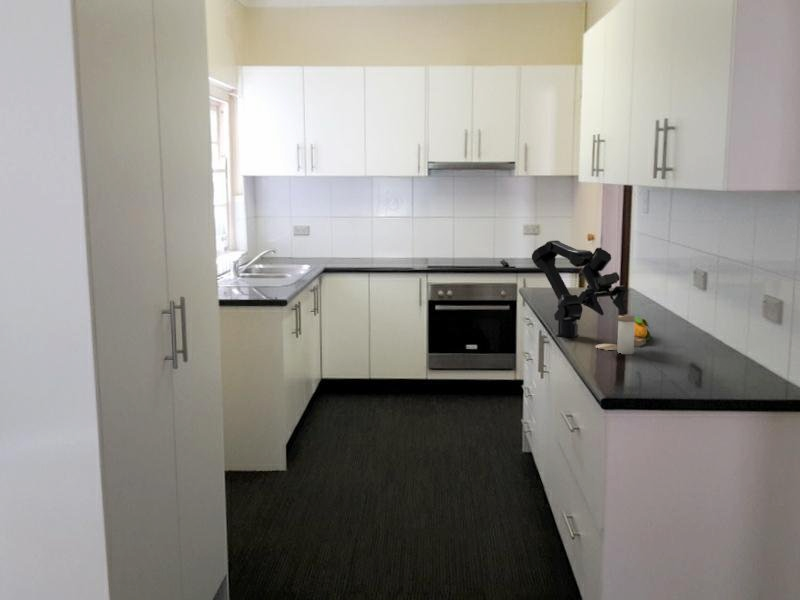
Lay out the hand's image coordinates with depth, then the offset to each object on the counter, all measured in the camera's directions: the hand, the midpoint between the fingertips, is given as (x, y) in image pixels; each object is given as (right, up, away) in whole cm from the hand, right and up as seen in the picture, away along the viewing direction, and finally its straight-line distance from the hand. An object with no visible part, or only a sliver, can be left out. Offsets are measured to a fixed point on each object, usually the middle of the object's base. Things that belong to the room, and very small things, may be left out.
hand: (613, 313), depth 293 cm
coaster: (-1, -12, +4) cm, 13 cm away
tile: (+10, -11, +9) cm, 18 cm away
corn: (+15, -10, +18) cm, 25 cm away
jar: (+3, -14, -4) cm, 15 cm away
